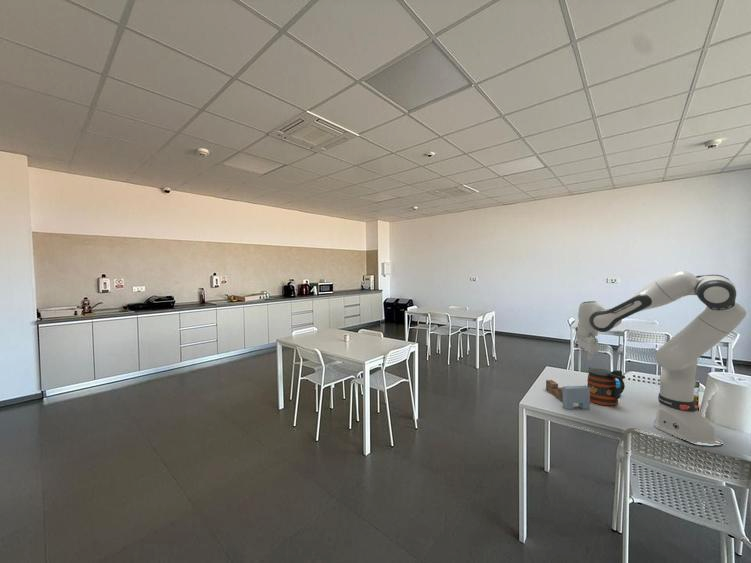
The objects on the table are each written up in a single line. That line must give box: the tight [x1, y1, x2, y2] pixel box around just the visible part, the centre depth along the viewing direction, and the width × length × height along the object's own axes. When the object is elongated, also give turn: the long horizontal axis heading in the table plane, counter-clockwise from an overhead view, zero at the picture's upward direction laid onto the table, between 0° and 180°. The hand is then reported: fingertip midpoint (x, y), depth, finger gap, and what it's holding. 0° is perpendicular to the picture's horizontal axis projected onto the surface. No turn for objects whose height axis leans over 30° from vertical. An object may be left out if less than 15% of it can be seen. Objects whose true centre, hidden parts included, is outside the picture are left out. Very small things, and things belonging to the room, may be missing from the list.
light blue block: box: [562, 385, 591, 410], centre depth 161 cm, size 12×4×11 cm, turn 89°
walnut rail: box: [545, 379, 563, 403], centre depth 177 cm, size 18×4×6 cm, turn 179°
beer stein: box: [586, 367, 626, 407], centre depth 167 cm, size 19×15×20 cm
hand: (586, 356), depth 163 cm, fingers open, 8 cm apart
